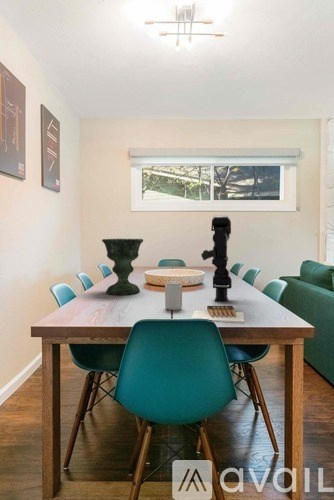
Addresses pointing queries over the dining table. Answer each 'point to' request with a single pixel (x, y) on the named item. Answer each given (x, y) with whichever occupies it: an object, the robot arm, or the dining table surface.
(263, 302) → the dining table surface
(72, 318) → the dining table surface
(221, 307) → the ammunition clip
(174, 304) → the can
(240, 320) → the mat
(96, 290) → the dining table surface
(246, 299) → the dining table surface
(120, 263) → the goblet
